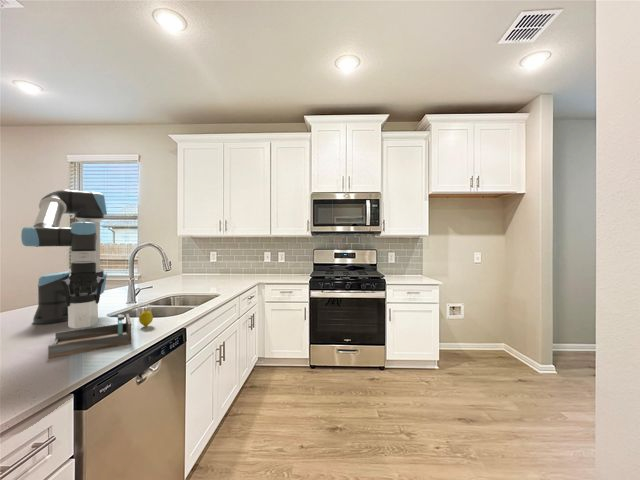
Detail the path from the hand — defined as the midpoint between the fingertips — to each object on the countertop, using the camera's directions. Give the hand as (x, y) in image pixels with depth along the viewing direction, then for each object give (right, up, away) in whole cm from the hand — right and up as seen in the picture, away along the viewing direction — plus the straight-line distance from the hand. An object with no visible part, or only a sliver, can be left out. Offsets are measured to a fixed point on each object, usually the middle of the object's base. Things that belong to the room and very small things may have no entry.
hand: (83, 322), depth 113 cm
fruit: (+10, -9, +24) cm, 27 cm away
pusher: (+10, -7, +7) cm, 14 cm away
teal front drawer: (+2, -9, +2) cm, 9 cm away
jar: (0, -1, 0) cm, 1 cm away
